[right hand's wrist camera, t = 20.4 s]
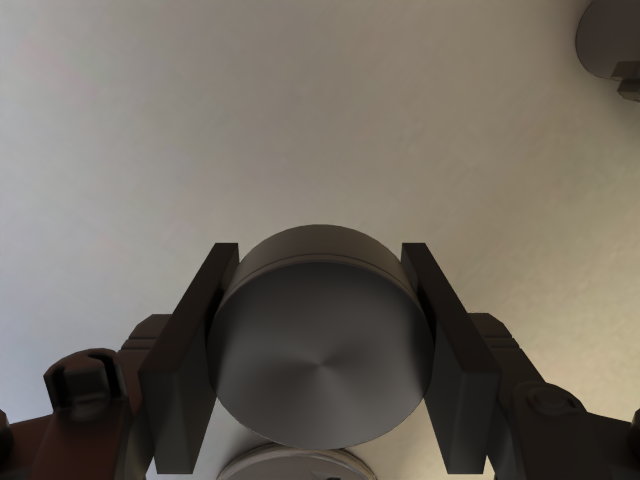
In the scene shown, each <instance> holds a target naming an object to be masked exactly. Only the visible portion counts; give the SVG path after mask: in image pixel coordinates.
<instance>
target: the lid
mask: <svg viewBox="0 0 640 480" xmlns="http://www.w3.org/2000/svg"><path fill="white" fill-rule="evenodd" d="M434 353H435V343H434V338H433V333H432V330H431V328H430V325H429V322H428V320H427V317H426V315H425V313H424V310H423V308H422V306H421V303H420V301H419V299H418V296H417V294H416V291H415V289H414V287H413V284H412V282H411V280H410V277H409V275H408V274H407V272H406V270H405V268H404V266H403V265H402V264H401V262H400V261H399V260H398V258H397V257H396V256H395V255H394V254H393V253H392V252H391V251H390V250H389V249H388V248H386V247H385V246H384V245H382V244H381V243H380V242H378V241H377V240H375V239H373V238H372V237H370V236H368V235H366V234H364V233H361V232H359V231H356V230H353V229H350V228H346V227H342V226H335V225H306V226H299V227H295V228H291V229H287V230H285V231H282V232H279V233H277V234H275V235H273V236H271V237H269V238H267V239H265V240H264V241H262V242H261V243H260V244H258V245H257V246H256V247H254V248H253V249H252V250H251V251H250V252H249V253H248V254H247V255H246V256H245V257H244V258H243V260H242V261H241V262H240V263H239V265H238V266H237V268H236V270H235V271H234V273H233V275H232V277H231V279H230V282H229V284H228V286H227V288H226V291H225V293H224V295H223V298H222V300H221V302H220V304H219V307H218V309H217V311H216V314H215V316H214V318H213V320H212V323H211V326H210V328H209V331H208V335H207V340H206V357H207V365H208V374H209V380H210V383H211V386H212V388H213V390H214V392H215V394H216V396H217V397H218V399H219V400H220V402H221V404H222V405H223V406H224V407H225V408H226V410H227V411H228V412H229V413H230V414H231V415H232V416H233V417H234V418H235V419H236V420H237V421H238V422H239V423H241V424H242V425H244V426H245V427H246V428H248V429H249V430H251V431H253V432H254V433H256V434H258V435H260V436H261V437H264V438H266V439H268V440H271V441H273V442H276V443H279V444H283V445H286V446H290V447H295V448H301V449H311V450H330V449H341V448H346V447H351V446H355V445H358V444H362V443H365V442H368V441H370V440H373V439H375V438H377V437H380V436H381V435H383V434H385V433H387V432H389V431H390V430H392V429H393V428H395V427H396V426H397V425H399V424H400V423H401V422H403V421H404V420H405V419H406V418H407V417H408V416H409V415H410V414H411V413H412V412H413V411H414V410H415V408H416V407H417V406H418V405H419V403H420V402H421V400H422V399H423V397H424V395H425V394H426V392H427V389H428V387H429V385H430V383H431V378H432V370H433V362H434Z"/></svg>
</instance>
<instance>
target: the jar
mask: <svg viewBox="0 0 640 480" xmlns="http://www.w3.org/2000/svg"><path fill="white" fill-rule="evenodd" d="M576 49H577V54H578V57H579V59H580V61H581V63H582V65H583V66H584V67H585V68H586V69H587V71H589V72H590V73H591V74H593V75H595V76H598V77H601V78H606V79H611V78H610V76H611V74H612V72H613V70H614V67H615V65H616V63H617V62H621V61H640V0H594V1H593V2H592V3H591V4H590V6H589V7H588V9H587V10H586V12H585V13H584V15H583V17H582V19H581V21H580V24H579V27H578V31H577V36H576Z"/></svg>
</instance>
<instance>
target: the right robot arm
mask: <svg viewBox="0 0 640 480" xmlns="http://www.w3.org/2000/svg"><path fill="white" fill-rule="evenodd" d="M239 263H240V262H239V249H238V243H215V245H214V246H213V248H212V249H211V251H210V253H209V254H208V256H207V258H206V259H205V261H204V263H203V264H202V266H201V268H200V269H199V271H198V272H197V274H196V276H195V277H194V279H193V281H192V282H191V284H190V286H189V287H188V289H187V291H186V292H185V294H184V295H183V297H182V299H181V300H180V302H179V304H178V305H177V307H176V309H175V310H174V312H173V314H152V315H151V316H149V317H148V318H146V319H145V320H144V321H142V322H141V323H139V324H138V325H137V326H136V327H135V329H134V330H133V332H132V333H131V334H130V336H129V339H127V340H126V341H125V343H124V344H123V345H122V347H121V350H119V351H118V352H117V353H116V352H115V351H114V350H110V349H105V348H95V349H87V350H83V351H79V352H75V353H73V354H71V355H69V356H67V357H64V358H62V359H61V360H59V361H58V362H56V363H55V364H54V365H52V366H51V367H50V368H49V369H48V370H47V372H46V373H45V374H44V375H43V377H44V381H45V384H46V387H47V391H48V394H49V397H50V401H51V404H52V407H53V414H50V415H47V416H44V417H39V418H35V419H30V420H26V421H22V422H17V423H13V424H9V422H8V419H7V416H6V414H5V413H4V412H3V411H2V410H0V480H146V472H147V470H148V468H149V465H150V463H151V461H152V458H153V456H154V460H155V465H156V470H157V474H193V471H194V468H195V464H196V461H197V458H198V455H199V452H200V449H201V445H202V442H203V439H204V436H205V433H206V430H207V426H208V423H209V420H210V417H211V414H212V411H213V408H214V404H215V401H216V398H217V396H216V394H215V392H214V390H213V388H212V386H211V383H210V380H209V374H208V365H207V357H206V340H207V335H208V331H209V328H210V326H211V323H212V320H213V318H214V316H215V314H216V311H217V309H218V307H219V304H220V302H221V300H222V298H223V295H224V293H225V291H226V288H227V286H228V284H229V282H230V279H231V277H232V275H233V273H234V271H235V270H236V268H237V266H238V265H239ZM401 264H402V265H403V266H404V268H405V270H406V272H407V274H408V275H409V277H410V280H411V282H412V284H413V287H414V289H415V291H416V294H417V296H418V299H419V301H420V303H421V306H422V308H423V310H424V313H425V315H426V317H427V320H428V322H429V325H430V328H431V330H432V333H433V338H434V343H435V353H434V362H433V370H432V378H431V383H430V385H429V387H428V389H427V392H426V394H425V395H424V400H425V404H426V407H427V410H428V413H429V416H430V419H431V423H432V426H433V429H434V432H435V435H436V438H437V442H438V445H439V448H440V451H441V454H442V457H443V460H444V464H445V467H446V470H447V473H448V474H483V471H484V466H485V461H486V456H488V458H489V460H490V463H491V465H492V467H493V470H494V472H495V475H494V480H640V409H638V410H637V411H636V412H635V414H634V417H633V420H632V423H631V422H627V421H622V420H618V419H613V418H609V417H604V416H600V415H596V414H593V413H589V412H587V411H586V409H585V408H584V406H583V405H582V403H581V402H580V400H578V399H577V398H576V397H575V396H573V395H572V394H571V393H570V392H568V391H566V390H564V389H562V388H560V387H558V386H556V385H553V384H550V383H546V382H545V380H544V379H543V378H542V376H541V375H540V374H539V372H538V371H537V369H536V368H535V367H534V365H533V364H532V363H531V361H530V360H529V358H528V357H527V356H526V354H525V353H524V352H523V350H522V349H521V348H519V345H518V343H517V342H516V340H515V339H514V338H512V335H511V334H510V332H509V331H508V329H507V328H506V327H505V325H504V324H503V323H502V322H500V321H499V320H497V319H496V318H495V317H493V316H492V315H490V314H489V313H467V311H466V310H465V308H464V306H463V305H462V303H461V302H460V300H459V298H458V297H457V295H456V293H455V292H454V290H453V288H452V287H451V285H450V283H449V282H448V280H447V279H446V277H445V275H444V274H443V272H442V270H441V269H440V267H439V265H438V264H437V262H436V261H435V259H434V257H433V256H432V254H431V252H430V251H429V249H428V247H427V246H426V244H425V243H402V252H401ZM217 480H377V479H376V478H375V476H374V475H373V473H372V472H371V471H370V470H369V469H368V468H367V467H366V466H365V465H364V464H363V463H362V462H361V461H359V460H358V459H357V458H355V457H354V456H352V455H350V454H348V453H346V452H344V451H342V450H340V449H330V450H311V449H301V448H295V447H290V446H286V445H283V444H279V443H272V444H267V445H264V446H260V447H257V448H255V449H252V450H250V451H248V452H246V453H244V454H242V455H241V456H239V457H237V458H236V459H235V460H233V461H232V462H231V463H230V464H229V465H227V466H226V467H225V469H224V470H223V471H222V472H221V473H220V475H219V476H218V478H217Z"/></svg>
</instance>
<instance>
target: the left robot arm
mask: <svg viewBox="0 0 640 480" xmlns="http://www.w3.org/2000/svg"><path fill="white" fill-rule="evenodd" d="M610 78H611V79H614V80H617V81H621V84H620V86H619V88H618V90H617V92H618V93H619V94H620V95H621V96H622V97H623V98H625V99H628V100H632V101H635V102H638V103H640V61H621V62H617V63H616V65H615V67H614V70H613V72H612V74H611V76H610Z"/></svg>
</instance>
